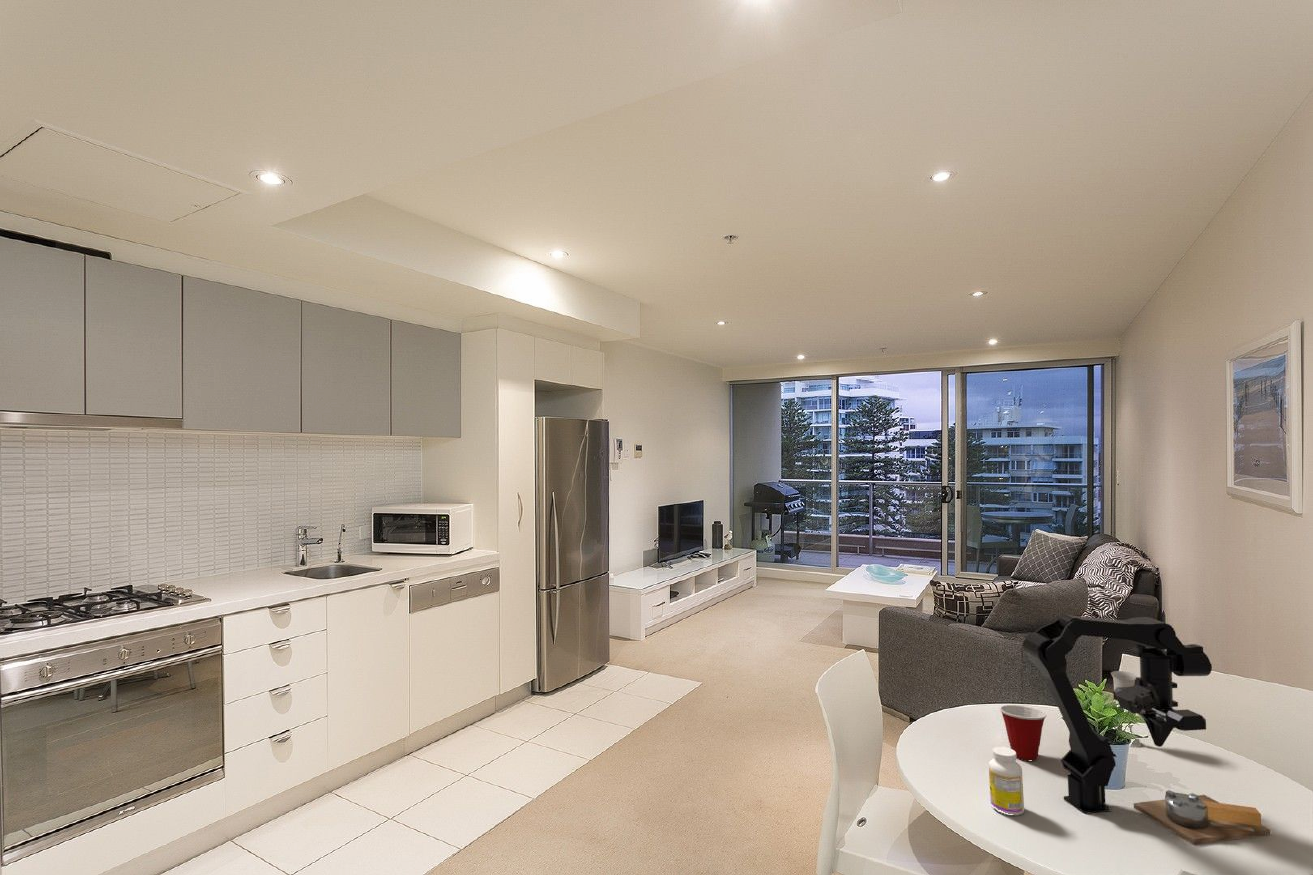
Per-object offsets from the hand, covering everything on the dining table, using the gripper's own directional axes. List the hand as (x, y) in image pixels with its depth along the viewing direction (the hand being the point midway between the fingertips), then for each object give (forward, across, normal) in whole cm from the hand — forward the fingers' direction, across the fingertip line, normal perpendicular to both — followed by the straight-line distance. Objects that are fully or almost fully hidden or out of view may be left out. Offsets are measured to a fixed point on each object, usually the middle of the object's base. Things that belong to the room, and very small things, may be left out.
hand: (1158, 746), depth 147 cm
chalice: (+13, -28, +18) cm, 36 cm away
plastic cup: (+13, -26, -14) cm, 33 cm away
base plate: (+13, +7, +2) cm, 15 cm away
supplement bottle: (+14, -3, -34) cm, 37 cm away
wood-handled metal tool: (+11, +10, +2) cm, 16 cm away
